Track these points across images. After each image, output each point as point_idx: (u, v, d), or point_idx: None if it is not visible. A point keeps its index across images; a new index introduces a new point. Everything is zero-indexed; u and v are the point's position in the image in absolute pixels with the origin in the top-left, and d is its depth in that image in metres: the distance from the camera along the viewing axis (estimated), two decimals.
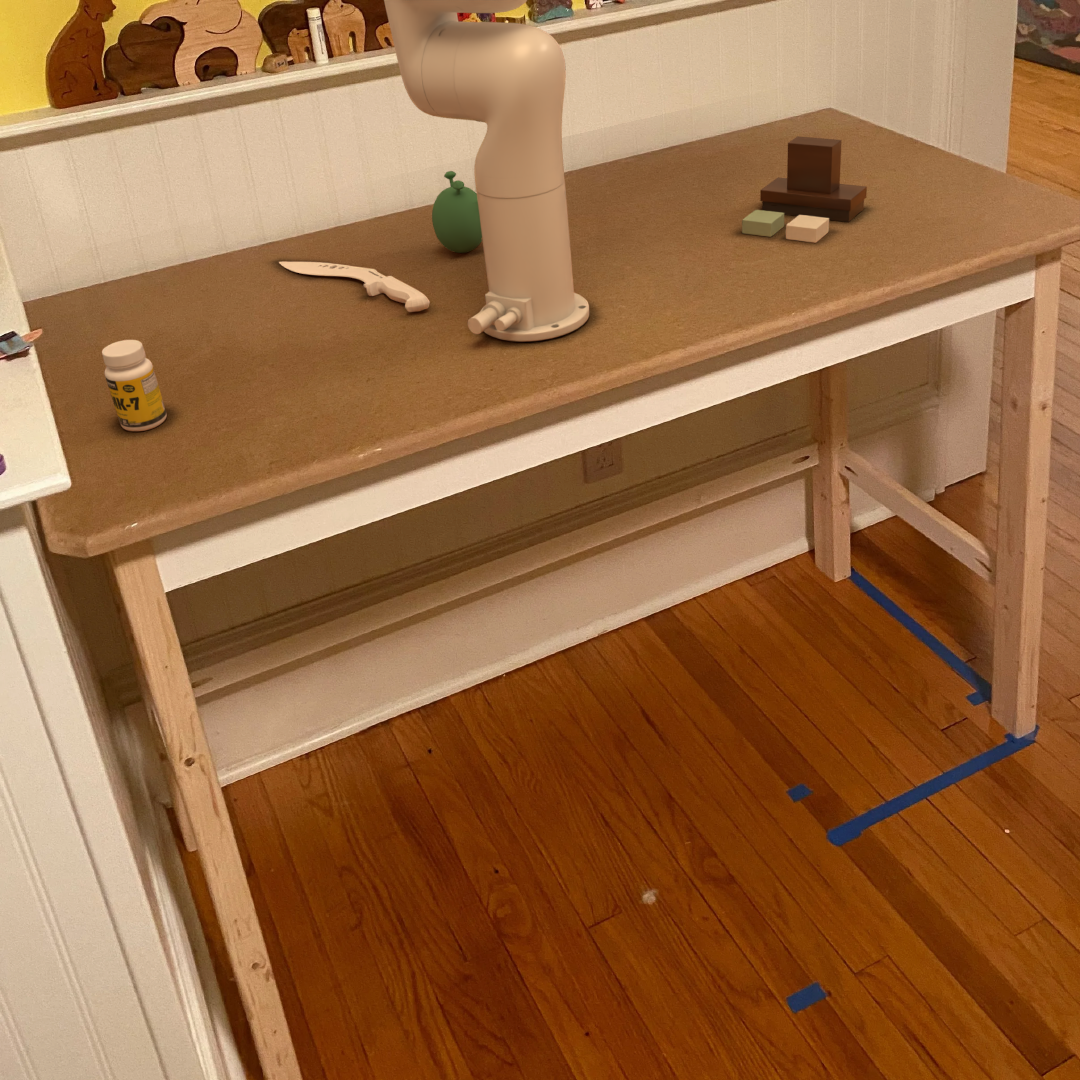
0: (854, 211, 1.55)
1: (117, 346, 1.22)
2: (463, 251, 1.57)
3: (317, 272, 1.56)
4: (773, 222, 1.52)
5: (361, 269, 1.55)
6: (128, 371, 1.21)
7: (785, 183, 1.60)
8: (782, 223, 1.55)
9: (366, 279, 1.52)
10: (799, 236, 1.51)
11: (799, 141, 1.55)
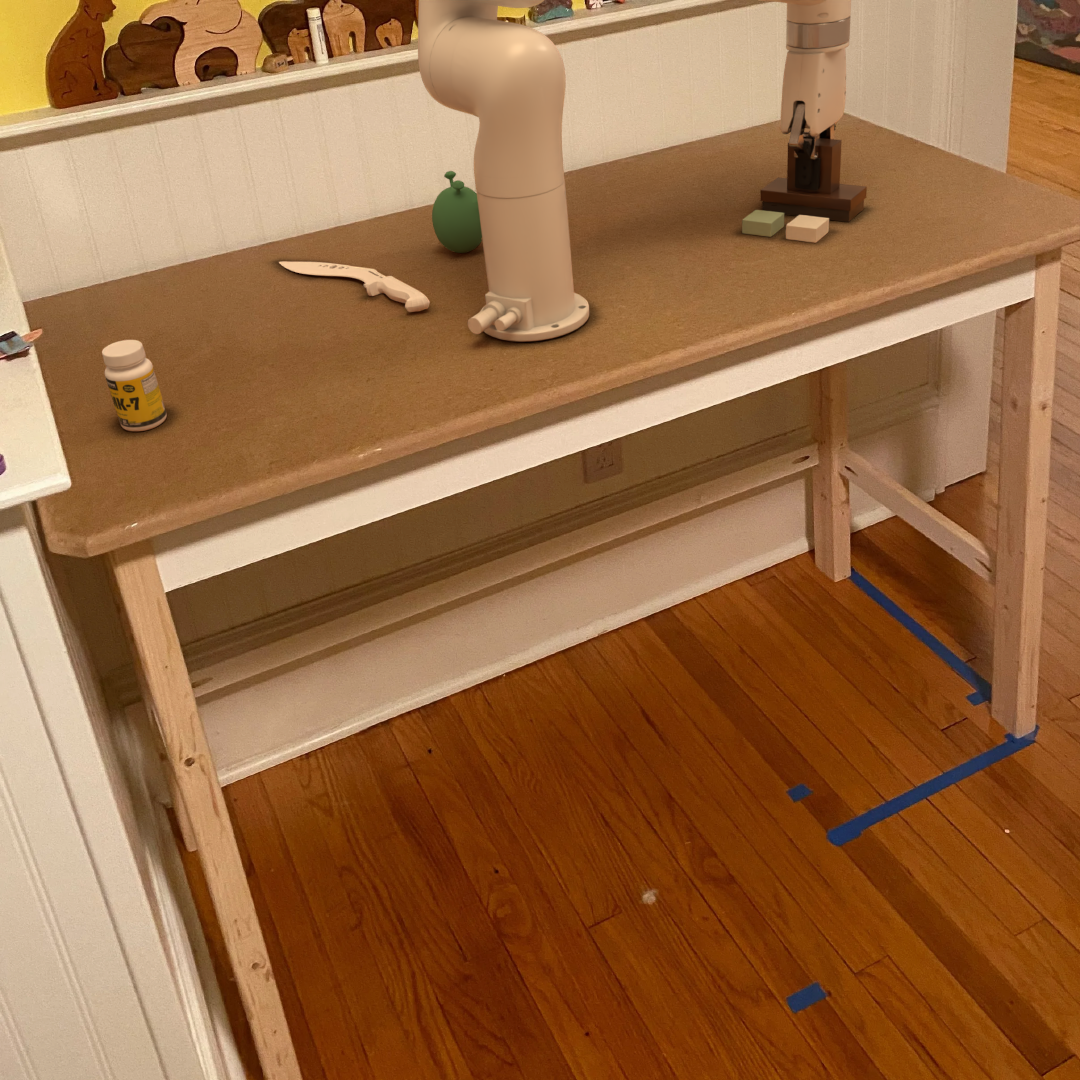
0: (854, 211, 1.55)
1: (117, 346, 1.22)
2: (463, 251, 1.57)
3: (317, 272, 1.56)
4: (773, 222, 1.52)
5: (361, 269, 1.55)
6: (128, 371, 1.21)
7: (785, 183, 1.60)
8: (782, 223, 1.55)
9: (366, 279, 1.52)
10: (799, 236, 1.51)
11: None
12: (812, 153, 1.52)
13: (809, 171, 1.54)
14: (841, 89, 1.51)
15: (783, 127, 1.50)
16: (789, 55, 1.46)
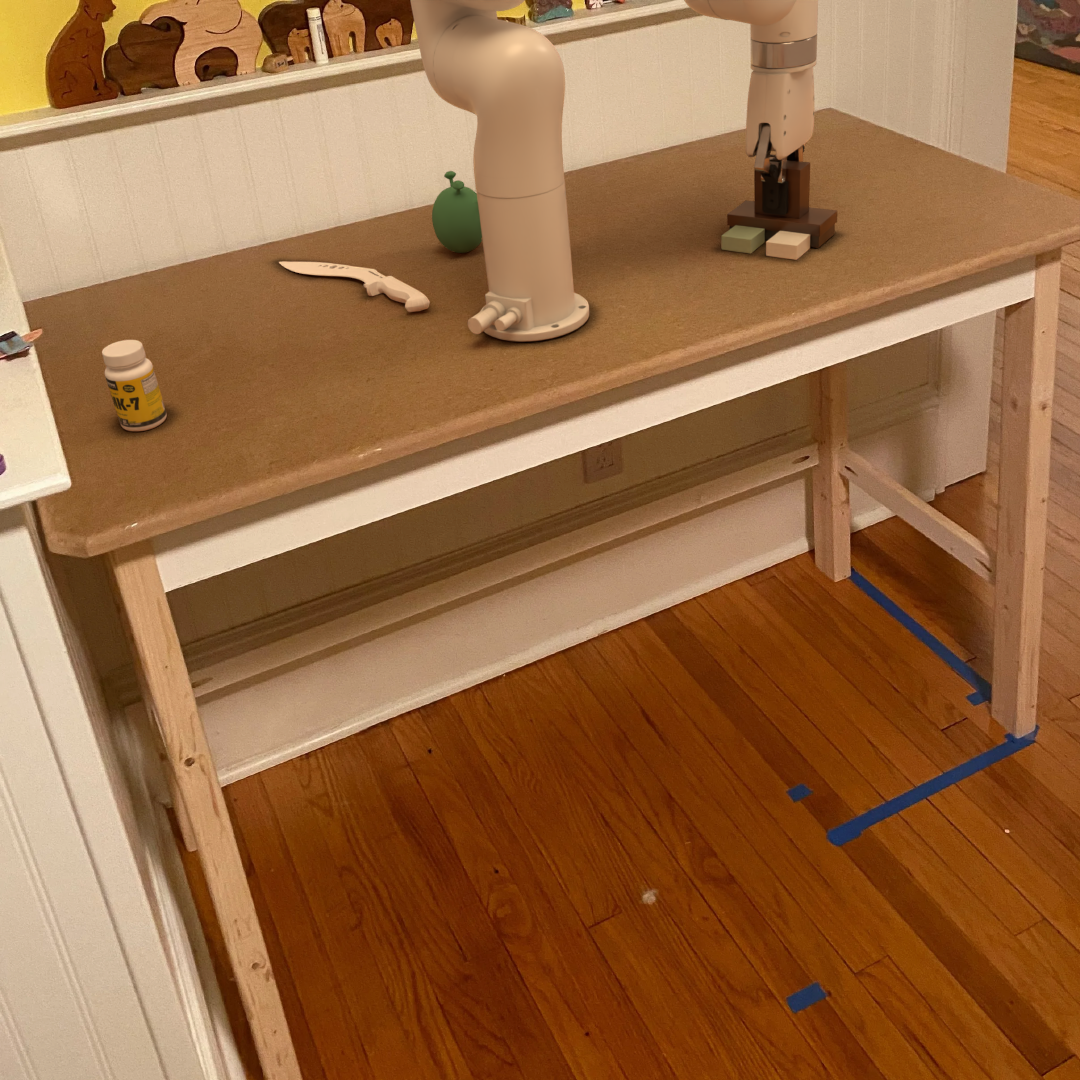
0: (824, 236, 1.49)
1: (117, 346, 1.22)
2: (463, 251, 1.57)
3: (317, 272, 1.56)
4: (753, 238, 1.49)
5: (361, 269, 1.55)
6: (128, 371, 1.21)
7: (753, 207, 1.54)
8: (763, 239, 1.51)
9: (366, 279, 1.52)
10: (779, 253, 1.47)
11: None
12: (779, 177, 1.46)
13: (776, 195, 1.47)
14: (809, 110, 1.45)
15: (748, 150, 1.44)
16: (753, 75, 1.40)
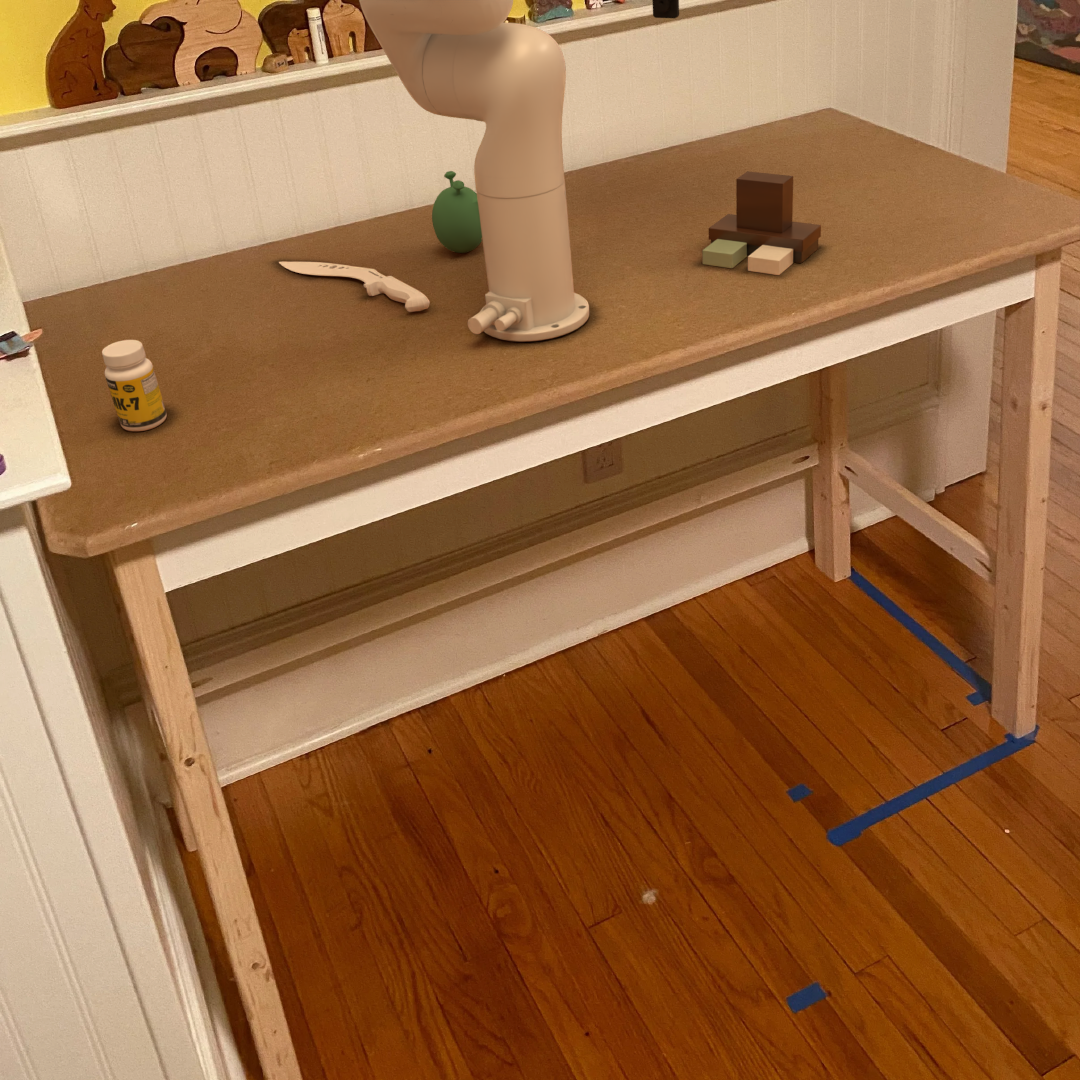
0: (807, 251, 1.46)
1: (117, 346, 1.22)
2: (463, 251, 1.57)
3: (317, 272, 1.56)
4: (735, 253, 1.45)
5: (361, 269, 1.55)
6: (128, 371, 1.21)
7: (735, 220, 1.50)
8: (745, 253, 1.48)
9: (366, 279, 1.52)
10: (761, 268, 1.43)
11: (749, 176, 1.45)
12: None
13: None
14: None
15: None
16: None
